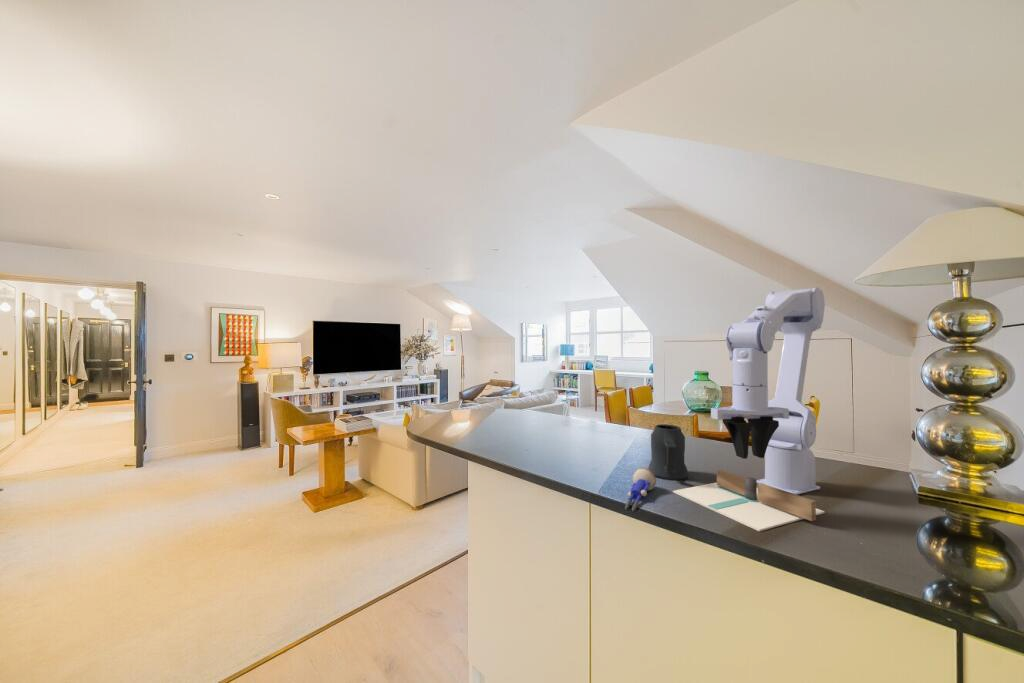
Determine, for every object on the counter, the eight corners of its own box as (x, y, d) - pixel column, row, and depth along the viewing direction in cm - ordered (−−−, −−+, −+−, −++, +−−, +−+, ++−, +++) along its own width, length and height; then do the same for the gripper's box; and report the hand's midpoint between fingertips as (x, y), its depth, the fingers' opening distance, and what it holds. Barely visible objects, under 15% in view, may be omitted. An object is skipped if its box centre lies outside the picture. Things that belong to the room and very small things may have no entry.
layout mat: (732, 480, 85) (732, 478, 85) (824, 512, 69) (824, 510, 69) (672, 492, 78) (672, 490, 78) (759, 531, 62) (759, 529, 62)
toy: (645, 520, 68) (661, 483, 80) (635, 496, 68) (653, 462, 81) (621, 522, 70) (640, 486, 83) (612, 498, 71) (632, 466, 83)
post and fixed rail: (722, 487, 81) (721, 467, 81) (759, 501, 74) (758, 479, 74) (715, 488, 80) (715, 468, 80) (752, 503, 73) (752, 481, 73)
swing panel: (757, 500, 72) (757, 483, 72) (761, 499, 73) (761, 483, 73) (811, 521, 64) (811, 502, 64) (815, 519, 64) (815, 501, 64)
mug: (646, 466, 95) (646, 421, 95) (685, 469, 93) (685, 424, 93) (649, 482, 84) (649, 432, 84) (694, 487, 81) (694, 435, 81)
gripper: (768, 382, 76) (768, 450, 76) (701, 383, 75) (701, 451, 74) (798, 386, 69) (798, 460, 69) (724, 387, 68) (725, 462, 67)
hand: (750, 456), depth 71 cm, fingers open, 3 cm apart
